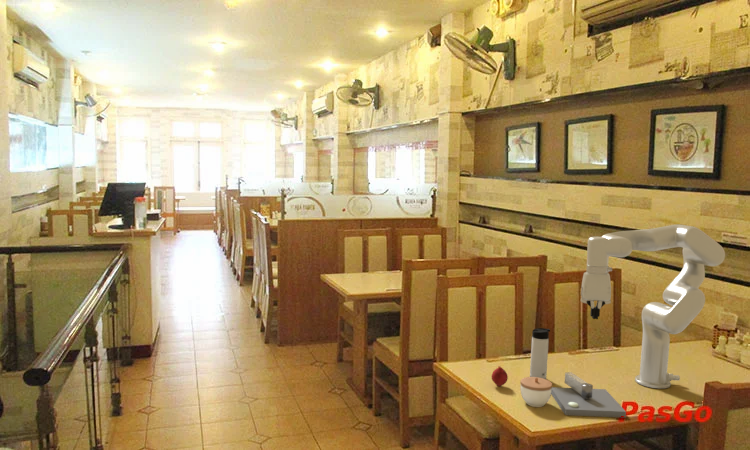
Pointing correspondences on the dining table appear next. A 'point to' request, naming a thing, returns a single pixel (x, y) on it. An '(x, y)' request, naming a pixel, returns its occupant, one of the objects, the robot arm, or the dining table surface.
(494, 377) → the onion
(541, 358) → the travel mug
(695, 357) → the dining table surface
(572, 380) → the light grey rectangular bar
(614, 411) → the base
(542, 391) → the lidded jar
